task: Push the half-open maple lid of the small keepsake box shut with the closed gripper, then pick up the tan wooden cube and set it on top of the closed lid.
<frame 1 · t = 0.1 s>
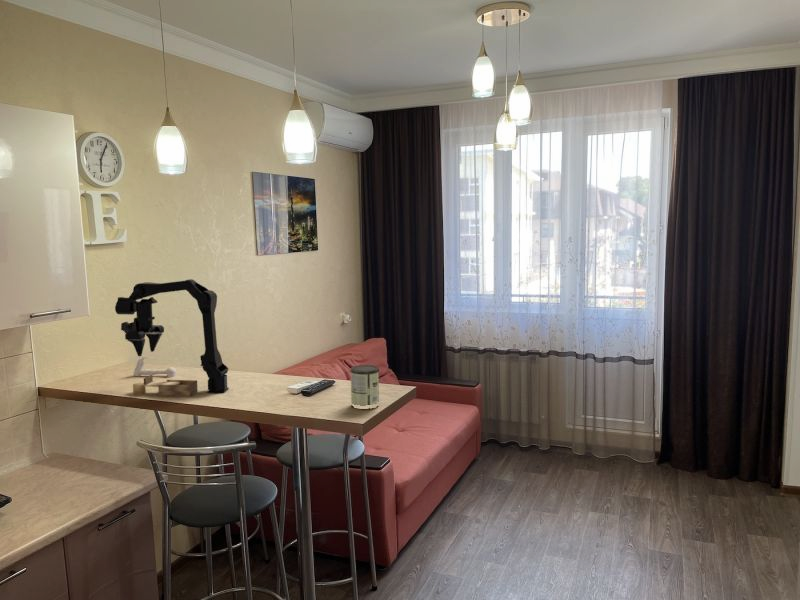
hand: (146, 353, 238), 14 cm above the breakfast bar, tool pointing down, fingers open, 9 cm apart
tan wooden cube: (139, 393, 235), on the breakfast bar
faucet: (154, 377, 262), on the breakfast bar
coffee can: (364, 406, 220), on the breakfast bar
lid: (161, 381, 234), point 5 cm above the breakfast bar, slide at 6.5 cm
box: (178, 393, 234), on the breakfast bar
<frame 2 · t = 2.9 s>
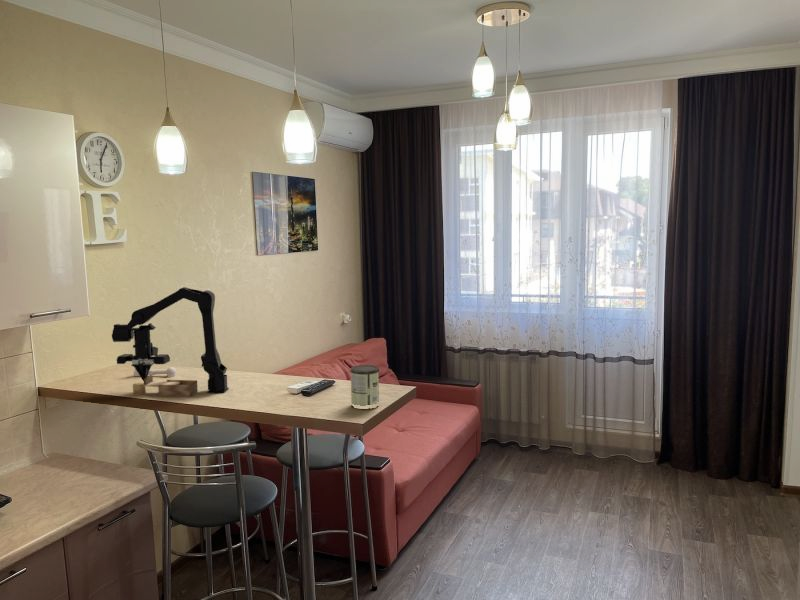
hand: (144, 380, 234), 5 cm above the breakfast bar, tool pointing down, fingers closed
lid: (161, 381, 234), point 5 cm above the breakfast bar, slide at 6.5 cm, touching gripper
everything else where it was.
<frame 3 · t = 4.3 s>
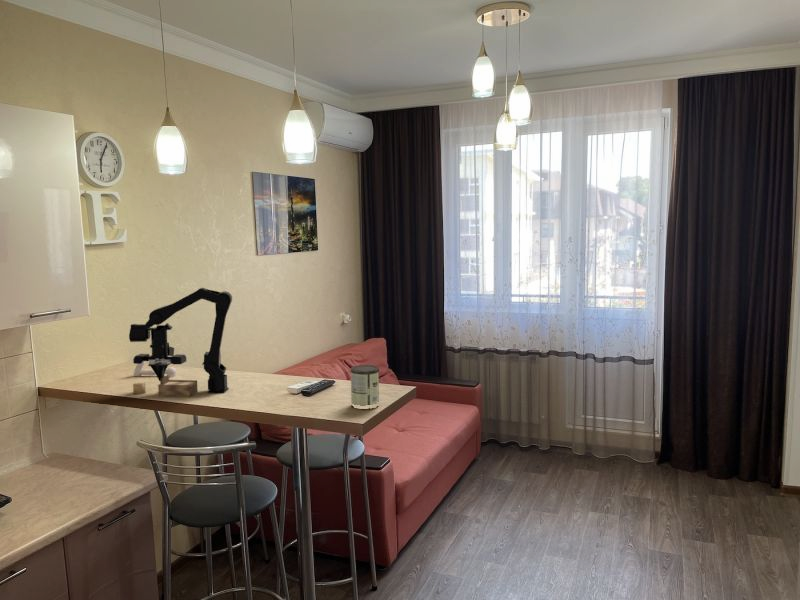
hand: (160, 380, 234), 5 cm above the breakfast bar, tool pointing down, fingers closed
lid: (178, 381, 234), point 5 cm above the breakfast bar, slide at 0.0 cm, touching gripper
everything else where it was.
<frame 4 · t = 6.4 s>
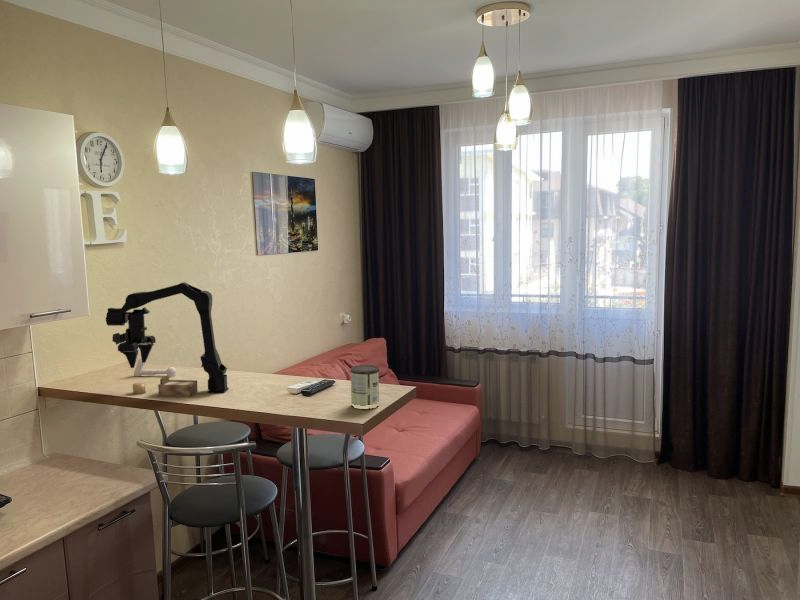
hand: (138, 365, 234), 11 cm above the breakfast bar, tool pointing down, fingers open, 9 cm apart
lid: (178, 381, 234), point 5 cm above the breakfast bar, slide at 0.0 cm
everything else where it was.
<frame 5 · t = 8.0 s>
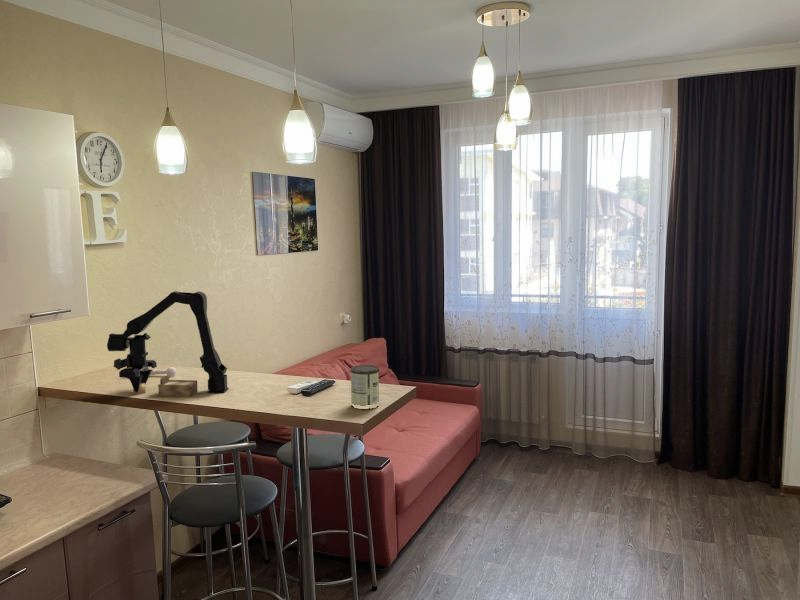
hand: (139, 390, 235), 1 cm above the breakfast bar, tool pointing down, fingers closed on tan wooden cube, 4 cm apart
tan wooden cube: (139, 392, 235), on the breakfast bar, touching gripper
everything else where it was.
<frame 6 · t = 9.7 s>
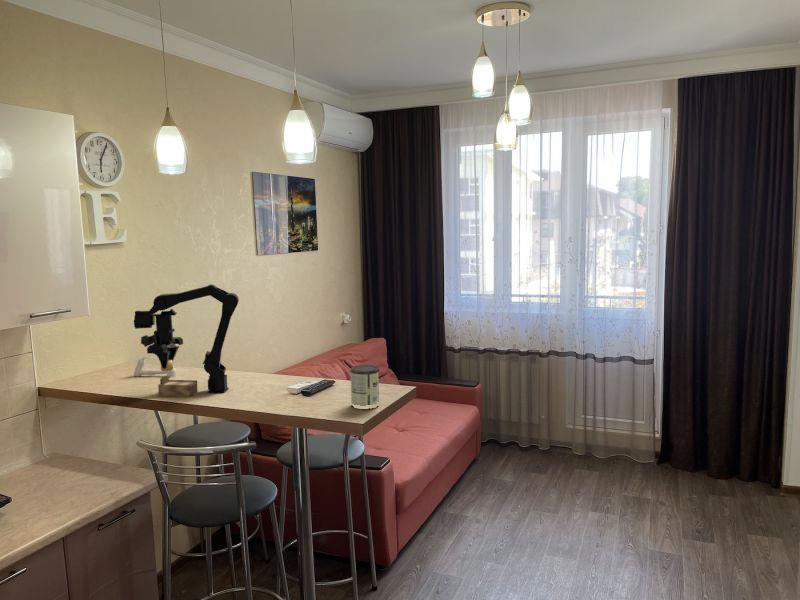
hand: (167, 366, 233), 10 cm above the breakfast bar, tool pointing down, fingers closed on tan wooden cube, 4 cm apart
tan wooden cube: (167, 369, 234), point 9 cm above the breakfast bar, touching gripper
everything else where it was.
when the fingers open (6 cm above the breakfast bar, at t = 11.3 s): tan wooden cube drops 1 cm, resting on lid.
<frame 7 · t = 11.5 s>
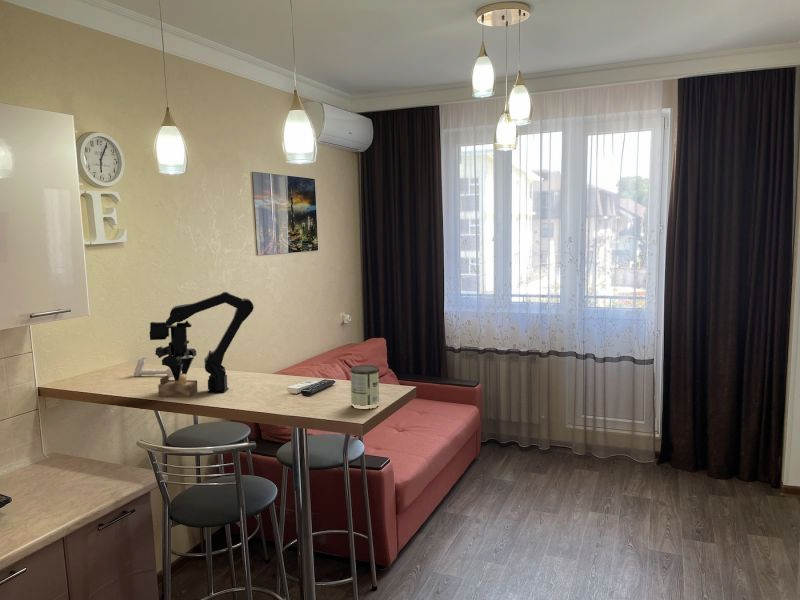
hand: (180, 378, 234), 6 cm above the breakfast bar, tool pointing down, fingers open, 7 cm apart
tan wooden cube: (180, 383, 234), point 4 cm above the breakfast bar, touching lid
lid: (178, 381, 234), point 5 cm above the breakfast bar, slide at 0.0 cm, touching tan wooden cube
everything else where it was.
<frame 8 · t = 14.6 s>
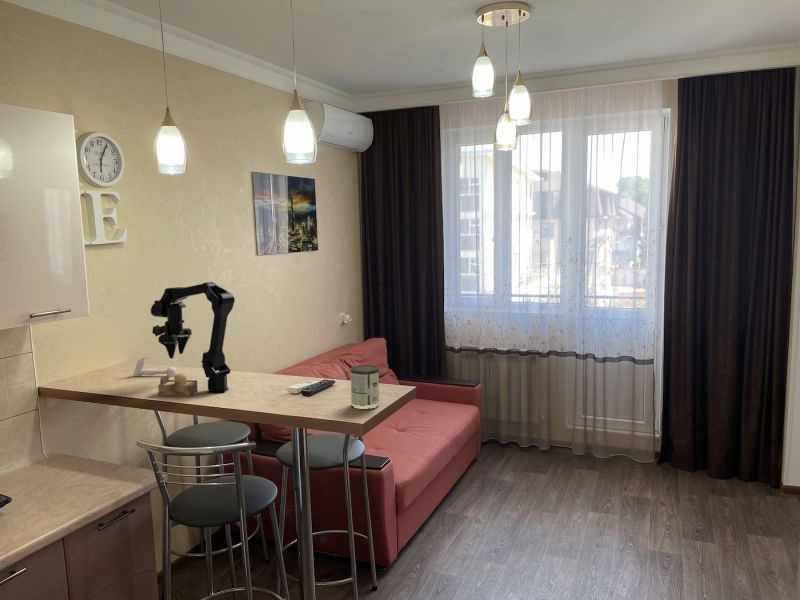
hand: (176, 356, 246), 12 cm above the breakfast bar, tool pointing down, fingers open, 9 cm apart
nothing on the breakfast bar moved.
at the end: lid slide at 0.0 cm; tan wooden cube inside the target area on the box (0.5 cm from its centre), point 4.0 cm above the box's base; tan wooden cube tilted 2° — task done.
